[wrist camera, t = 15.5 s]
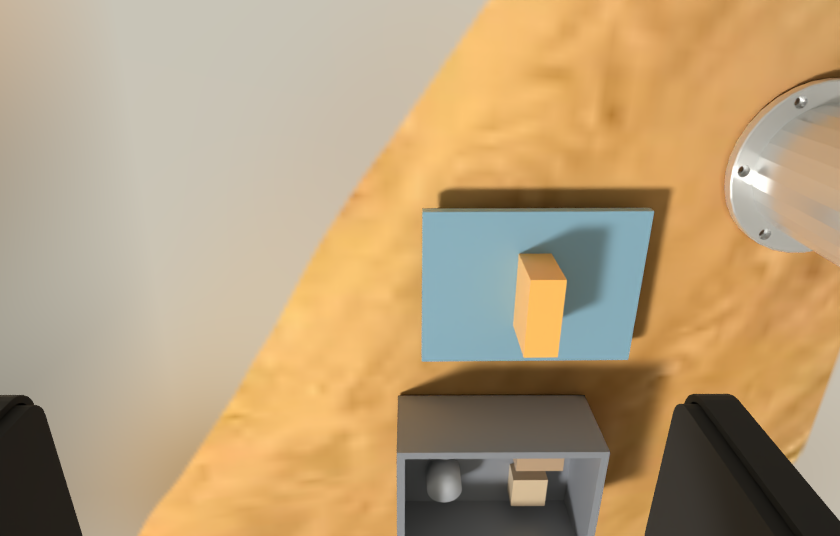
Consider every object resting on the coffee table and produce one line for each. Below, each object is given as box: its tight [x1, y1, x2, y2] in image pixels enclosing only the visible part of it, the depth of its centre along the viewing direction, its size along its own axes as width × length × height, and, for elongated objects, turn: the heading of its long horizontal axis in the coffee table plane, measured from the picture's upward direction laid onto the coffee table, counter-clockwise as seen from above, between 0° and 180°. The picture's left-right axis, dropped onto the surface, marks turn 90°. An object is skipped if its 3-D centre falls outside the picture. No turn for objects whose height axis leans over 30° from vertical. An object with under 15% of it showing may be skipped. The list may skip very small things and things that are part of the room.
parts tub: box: [397, 395, 610, 536], centre depth 49 cm, size 16×12×7 cm
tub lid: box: [422, 208, 654, 361], centre depth 43 cm, size 16×12×6 cm
